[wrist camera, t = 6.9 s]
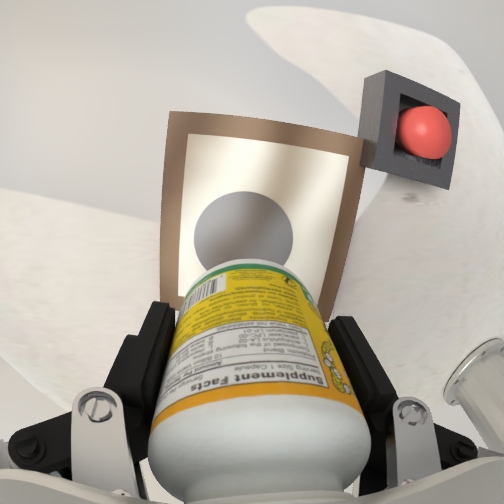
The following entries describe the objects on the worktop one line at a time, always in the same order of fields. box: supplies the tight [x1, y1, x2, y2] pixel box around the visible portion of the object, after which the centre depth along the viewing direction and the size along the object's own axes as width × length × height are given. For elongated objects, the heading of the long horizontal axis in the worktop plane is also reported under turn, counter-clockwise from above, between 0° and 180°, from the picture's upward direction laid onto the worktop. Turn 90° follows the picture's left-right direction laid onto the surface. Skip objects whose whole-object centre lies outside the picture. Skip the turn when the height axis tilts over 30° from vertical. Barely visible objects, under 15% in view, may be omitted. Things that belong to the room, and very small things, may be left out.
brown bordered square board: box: [160, 111, 365, 322], centre depth 21 cm, size 14×15×2 cm
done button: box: [395, 106, 452, 159], centre depth 16 cm, size 4×4×2 cm
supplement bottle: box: [147, 259, 371, 504], centre depth 7 cm, size 5×5×10 cm
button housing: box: [358, 70, 460, 190], centre depth 18 cm, size 7×7×4 cm
